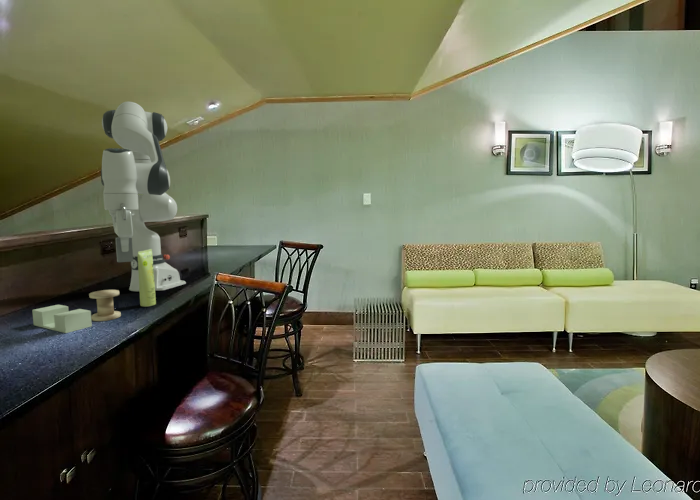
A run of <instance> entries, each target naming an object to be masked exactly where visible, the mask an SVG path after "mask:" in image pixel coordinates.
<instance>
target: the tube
mask: <svg viewBox="0 0 700 500" xmlns="http://www.w3.org/2000/svg"><path fill="white" fill-rule="evenodd" d="M138 273H139V291H138V292H139V304H140V305H139V306H140V307H144V308H145V307H152V306H155V305H157V300H156V299H157V297H156V290H155V282H154V268H153V256H152V249H149V250H144V251H139V252H138Z"/></svg>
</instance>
